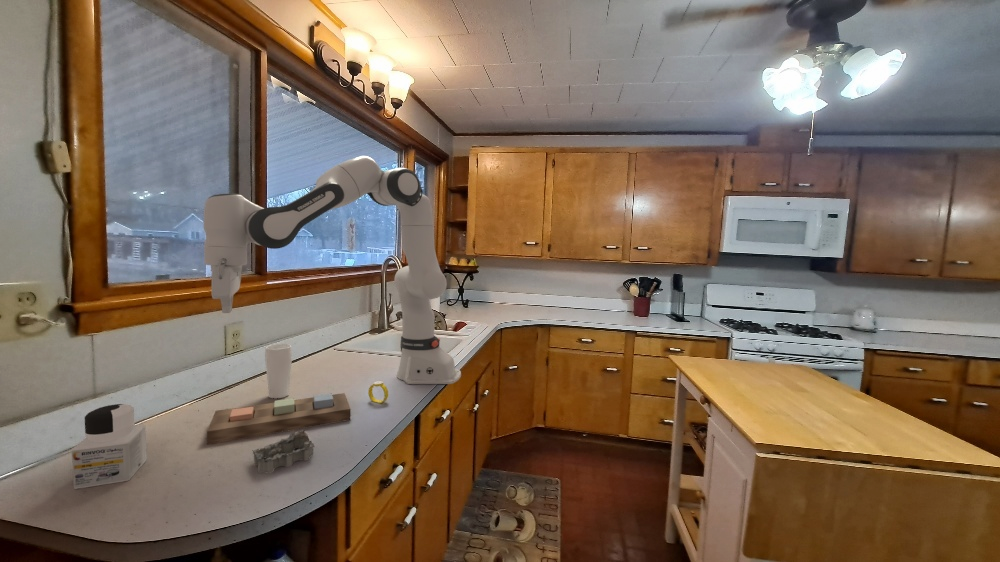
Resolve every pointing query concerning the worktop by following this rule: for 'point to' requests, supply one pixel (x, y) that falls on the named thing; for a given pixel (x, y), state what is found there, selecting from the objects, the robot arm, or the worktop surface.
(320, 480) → the worktop surface
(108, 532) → the worktop surface
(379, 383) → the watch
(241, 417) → the terracotta button
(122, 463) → the container
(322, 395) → the slate button
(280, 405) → the sage button
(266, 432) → the button panel
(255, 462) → the egg carton
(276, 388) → the drinking glass
